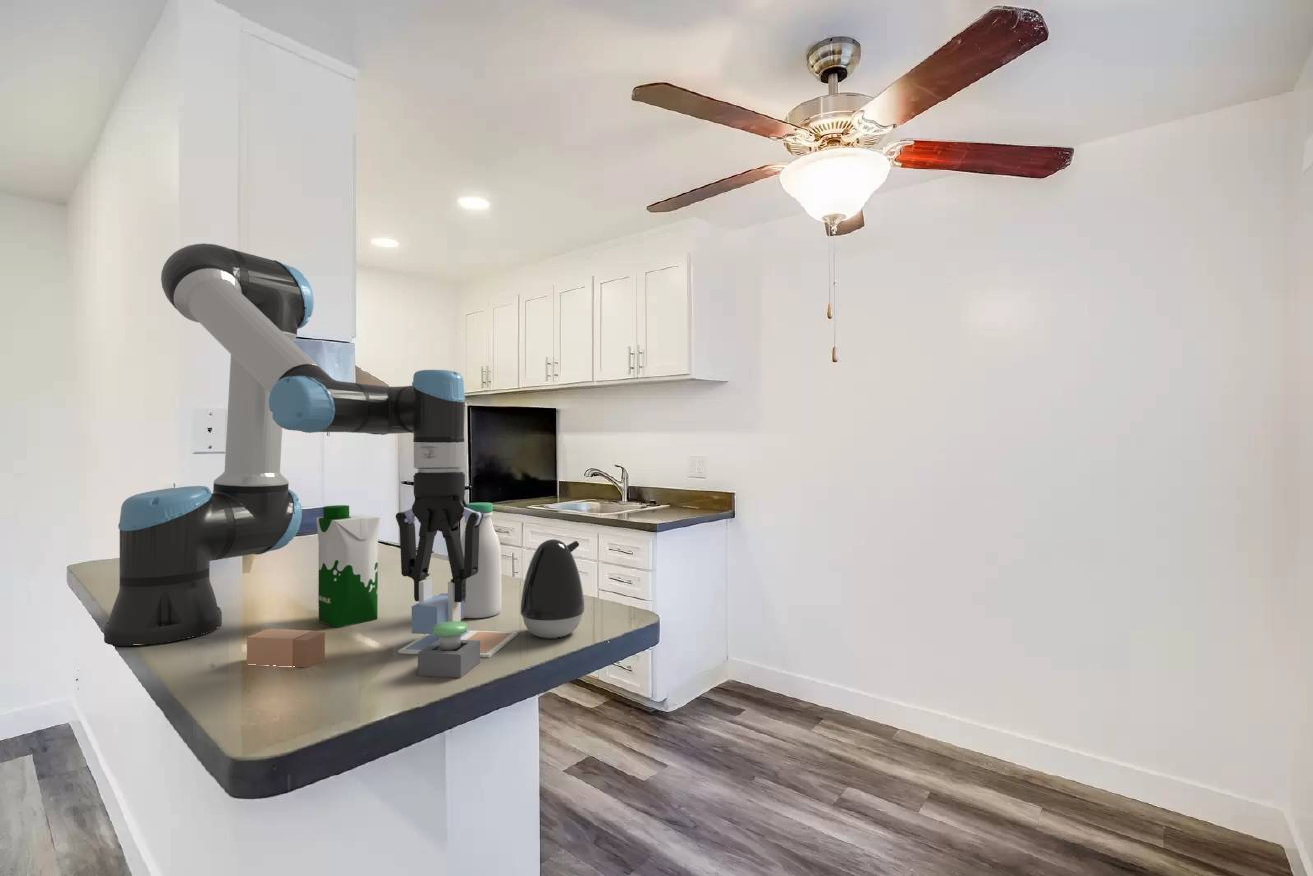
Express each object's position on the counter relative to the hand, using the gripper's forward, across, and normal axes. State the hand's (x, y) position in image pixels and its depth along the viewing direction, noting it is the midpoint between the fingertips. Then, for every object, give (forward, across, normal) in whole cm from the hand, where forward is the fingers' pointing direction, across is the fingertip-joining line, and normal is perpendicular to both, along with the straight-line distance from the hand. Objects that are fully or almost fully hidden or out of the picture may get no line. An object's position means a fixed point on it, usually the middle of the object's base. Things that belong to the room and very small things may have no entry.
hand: (440, 622), depth 97 cm
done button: (0, +7, -10) cm, 12 cm away
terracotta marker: (+3, -17, -11) cm, 21 cm away
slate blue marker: (0, 0, 0) cm, 0 cm away
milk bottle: (+3, -1, +17) cm, 17 cm away
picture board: (+3, +3, 0) cm, 5 cm away
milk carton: (+3, -22, +10) cm, 25 cm away
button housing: (+3, +7, -10) cm, 13 cm away
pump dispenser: (+4, +16, +7) cm, 18 cm away
